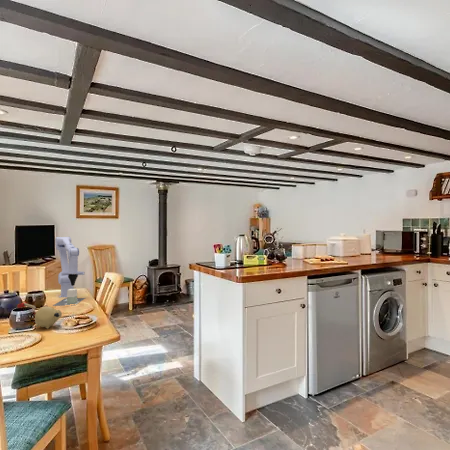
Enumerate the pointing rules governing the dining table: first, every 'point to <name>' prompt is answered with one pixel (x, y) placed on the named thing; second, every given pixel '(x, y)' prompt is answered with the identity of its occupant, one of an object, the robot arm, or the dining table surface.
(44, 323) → the toy pig
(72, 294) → the top block
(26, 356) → the dining table surface
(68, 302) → the base block
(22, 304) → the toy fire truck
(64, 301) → the mat
